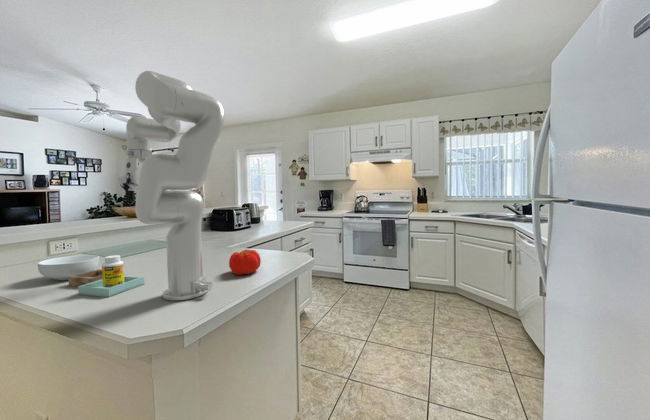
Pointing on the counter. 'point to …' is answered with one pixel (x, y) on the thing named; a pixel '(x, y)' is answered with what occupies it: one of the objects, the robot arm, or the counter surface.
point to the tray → (99, 290)
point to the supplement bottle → (112, 271)
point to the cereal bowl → (68, 266)
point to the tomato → (244, 262)
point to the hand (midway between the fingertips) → (142, 201)
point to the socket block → (85, 278)
